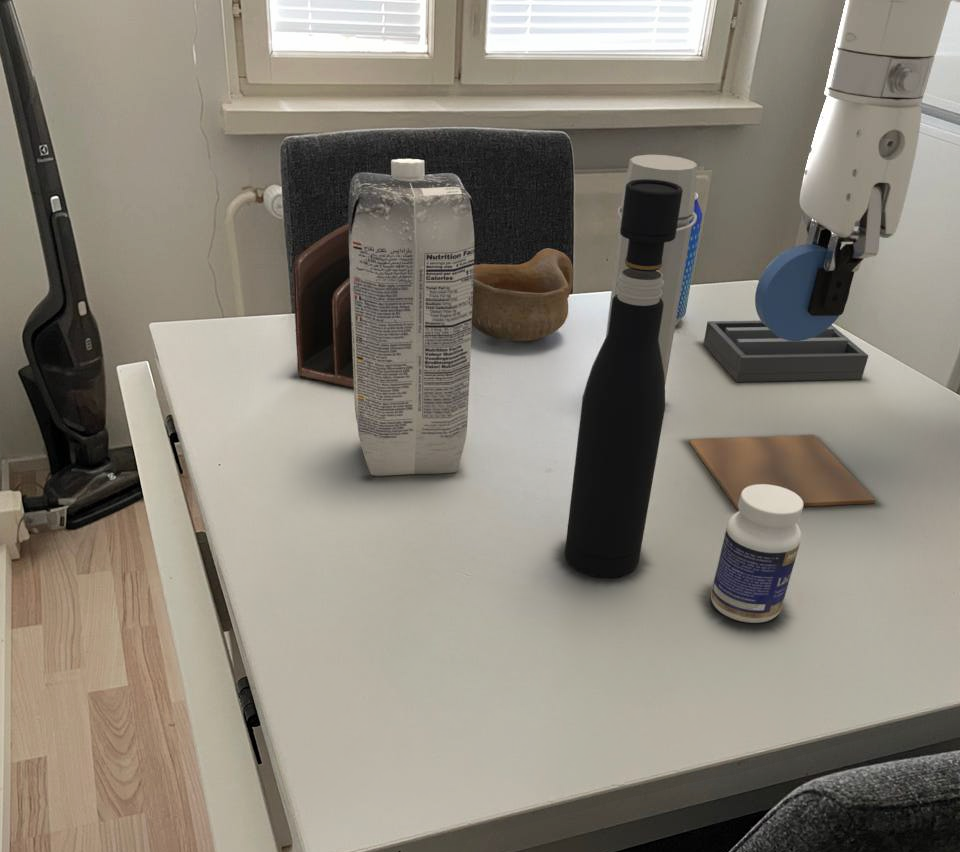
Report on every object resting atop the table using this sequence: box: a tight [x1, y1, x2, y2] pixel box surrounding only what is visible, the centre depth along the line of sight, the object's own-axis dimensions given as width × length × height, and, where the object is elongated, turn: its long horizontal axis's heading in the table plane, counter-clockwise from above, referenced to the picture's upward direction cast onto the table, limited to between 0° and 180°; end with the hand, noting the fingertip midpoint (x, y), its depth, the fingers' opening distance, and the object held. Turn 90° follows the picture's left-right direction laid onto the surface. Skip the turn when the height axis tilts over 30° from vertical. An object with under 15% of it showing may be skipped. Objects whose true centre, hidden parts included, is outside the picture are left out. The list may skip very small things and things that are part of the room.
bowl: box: [472, 247, 574, 343], centre depth 125 cm, size 18×14×10 cm
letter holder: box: [292, 223, 354, 389], centre depth 114 cm, size 10×20×14 cm, turn 158°
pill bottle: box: [710, 484, 804, 624], centre depth 78 cm, size 6×6×10 cm
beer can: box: [675, 191, 703, 327], centre depth 128 cm, size 8×8×16 cm
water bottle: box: [605, 154, 698, 385], centre depth 103 cm, size 9×8×25 cm
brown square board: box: [688, 434, 876, 510], centre depth 99 cm, size 14×14×1 cm
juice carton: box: [347, 158, 475, 477], centre depth 90 cm, size 9×10×27 cm
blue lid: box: [754, 243, 851, 341], centre depth 88 cm, size 8×2×8 cm, turn 99°
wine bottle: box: [564, 179, 683, 579], centre depth 76 cm, size 6×6×30 cm
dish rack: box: [703, 320, 869, 383], centre depth 122 cm, size 16×12×4 cm
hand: (818, 307), depth 89 cm, fingers closed on blue lid, 2 cm apart
